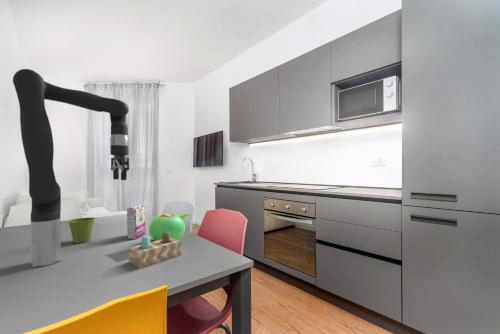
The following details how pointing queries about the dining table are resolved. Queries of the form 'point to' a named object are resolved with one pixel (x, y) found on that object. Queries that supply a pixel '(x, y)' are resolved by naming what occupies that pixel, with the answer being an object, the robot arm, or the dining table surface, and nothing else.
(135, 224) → the candy bar box
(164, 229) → the toy bird
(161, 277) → the dining table surface
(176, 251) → the hole block
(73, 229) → the plant pot
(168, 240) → the walnut peg
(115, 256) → the mat
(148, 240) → the teal peg
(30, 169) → the robot arm
